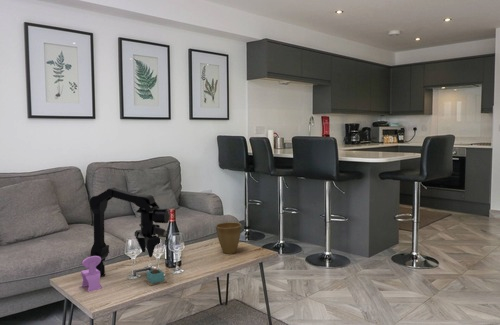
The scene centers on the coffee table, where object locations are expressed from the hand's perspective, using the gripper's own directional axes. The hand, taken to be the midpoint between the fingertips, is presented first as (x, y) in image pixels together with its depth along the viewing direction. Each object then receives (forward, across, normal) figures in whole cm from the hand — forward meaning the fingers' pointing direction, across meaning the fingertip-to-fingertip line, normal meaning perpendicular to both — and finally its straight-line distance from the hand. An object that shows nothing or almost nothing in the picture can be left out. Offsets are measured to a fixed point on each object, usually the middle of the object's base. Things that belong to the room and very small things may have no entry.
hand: (147, 254), depth 193 cm
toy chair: (+13, +5, +24) cm, 28 cm away
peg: (+12, -6, -2) cm, 13 cm away
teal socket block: (+11, -6, -2) cm, 13 cm away
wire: (+12, +5, -1) cm, 13 cm away
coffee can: (+12, +26, -21) cm, 36 cm away
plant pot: (+11, +15, -54) cm, 58 cm away
